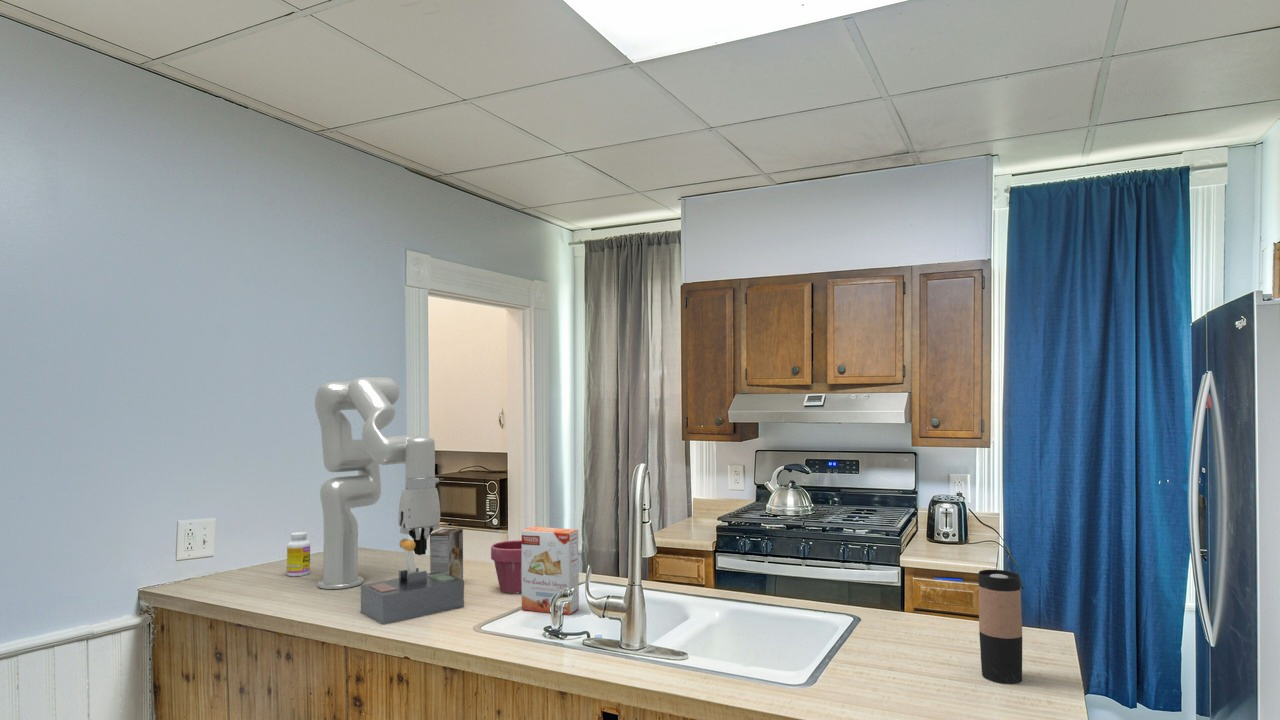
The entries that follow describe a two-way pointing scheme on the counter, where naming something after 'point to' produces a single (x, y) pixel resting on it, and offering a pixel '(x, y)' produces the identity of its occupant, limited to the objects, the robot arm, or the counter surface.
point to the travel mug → (1000, 626)
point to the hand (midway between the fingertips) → (420, 553)
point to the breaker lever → (409, 554)
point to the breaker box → (411, 596)
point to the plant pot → (508, 565)
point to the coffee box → (447, 552)
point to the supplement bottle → (298, 555)
